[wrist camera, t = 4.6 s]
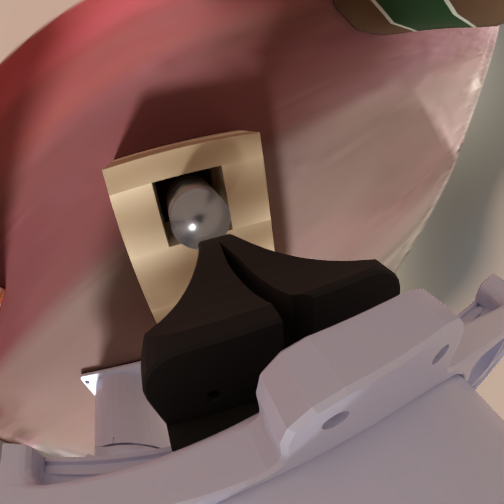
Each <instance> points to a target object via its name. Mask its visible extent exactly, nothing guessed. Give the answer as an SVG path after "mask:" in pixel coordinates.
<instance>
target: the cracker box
mask: <svg viewBox="0 0 504 504" xmlns="http://www.w3.org/2000/svg"><path fill="white" fill-rule="evenodd" d="M4 293H5V289H3V288H2V287H1V286H0V309H1V305H2V301H3V297H4Z"/></svg>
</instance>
